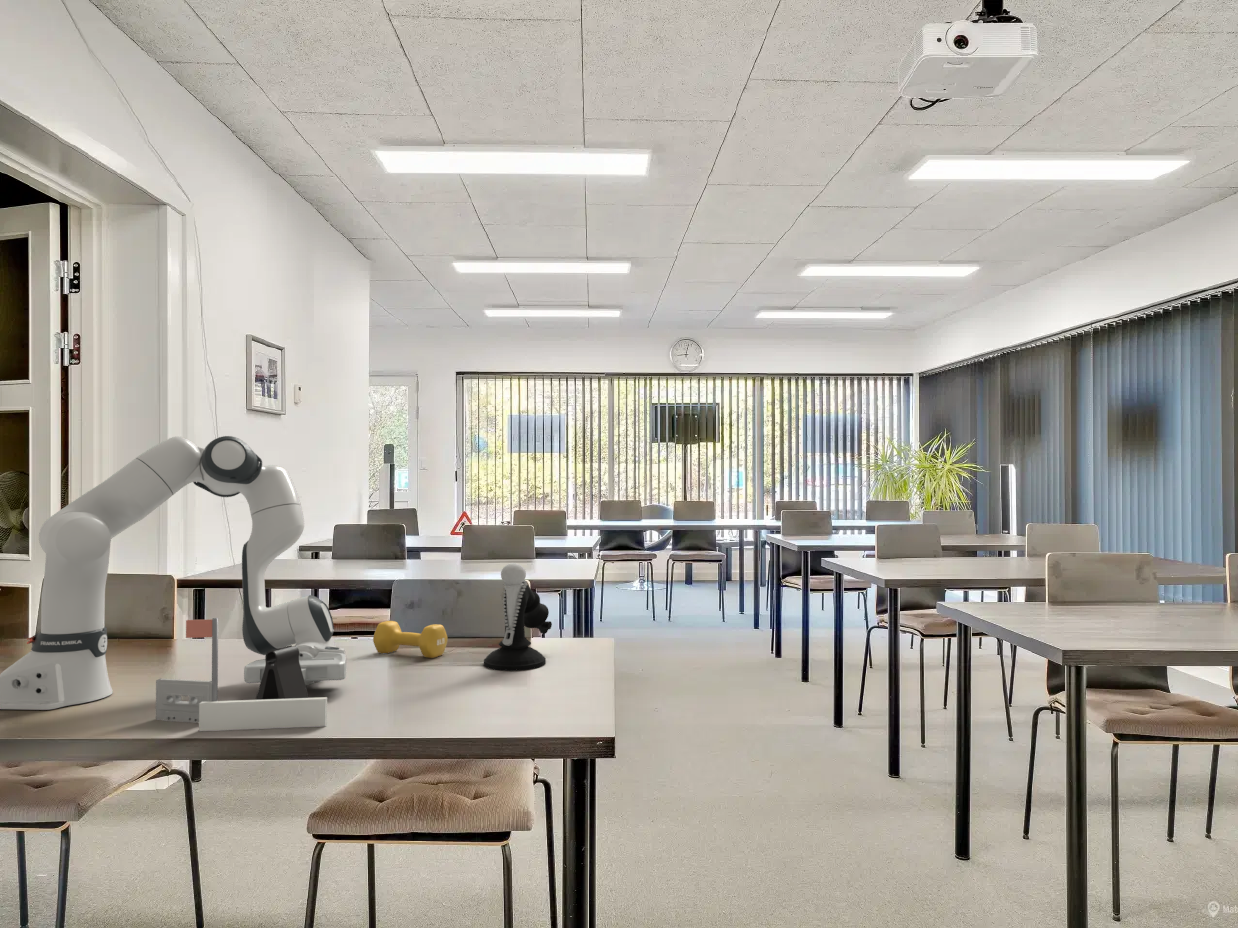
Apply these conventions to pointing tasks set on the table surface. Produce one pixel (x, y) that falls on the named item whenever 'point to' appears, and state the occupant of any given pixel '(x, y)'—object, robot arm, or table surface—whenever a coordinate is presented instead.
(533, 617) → the sculpture
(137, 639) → the table surface
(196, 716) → the cassette
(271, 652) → the phone stand
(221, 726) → the flag on white base
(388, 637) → the dumbbell
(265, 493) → the robot arm
